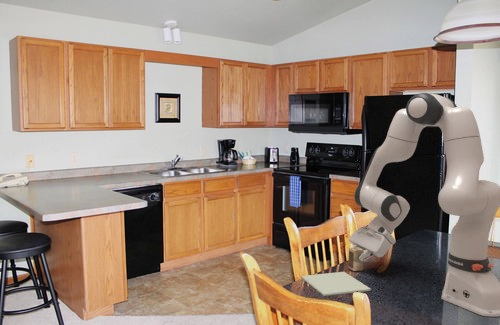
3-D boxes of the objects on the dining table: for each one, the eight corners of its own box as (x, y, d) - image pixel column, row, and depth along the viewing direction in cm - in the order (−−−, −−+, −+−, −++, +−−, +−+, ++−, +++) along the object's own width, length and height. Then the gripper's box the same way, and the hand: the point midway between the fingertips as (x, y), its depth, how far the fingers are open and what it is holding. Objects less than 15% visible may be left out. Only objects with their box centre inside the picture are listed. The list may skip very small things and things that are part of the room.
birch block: (357, 267, 173) (357, 247, 172) (362, 270, 169) (363, 249, 168) (347, 267, 172) (348, 248, 171) (353, 271, 168) (353, 250, 167)
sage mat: (370, 290, 150) (370, 288, 150) (323, 296, 144) (323, 294, 144) (343, 273, 167) (344, 271, 167) (300, 277, 161) (300, 276, 161)
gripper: (359, 220, 181) (337, 245, 179) (389, 231, 162) (365, 259, 159) (368, 230, 183) (346, 255, 181) (398, 242, 163) (375, 270, 161)
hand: (355, 257), depth 170 cm, fingers closed on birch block, 4 cm apart
